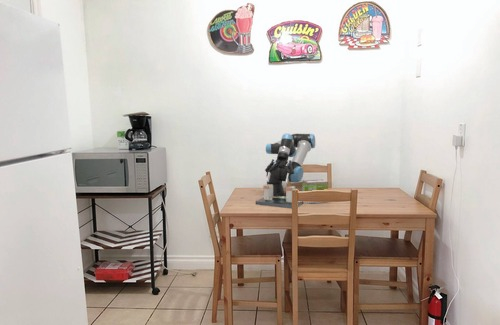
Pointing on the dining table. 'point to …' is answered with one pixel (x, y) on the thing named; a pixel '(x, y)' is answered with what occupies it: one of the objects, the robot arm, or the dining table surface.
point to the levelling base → (276, 202)
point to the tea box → (314, 186)
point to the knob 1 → (268, 192)
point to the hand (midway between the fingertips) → (276, 182)
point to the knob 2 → (289, 193)
